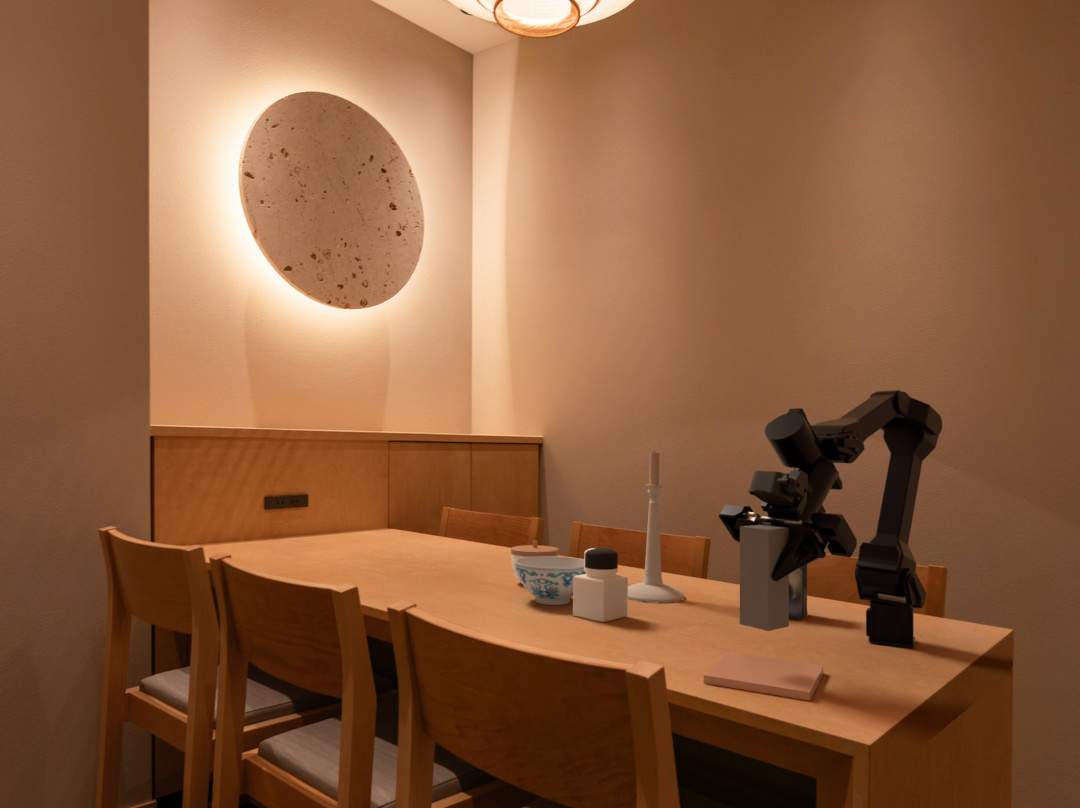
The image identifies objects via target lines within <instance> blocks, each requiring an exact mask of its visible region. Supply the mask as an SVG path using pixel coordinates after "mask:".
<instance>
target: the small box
mask: <svg viewBox="0 0 1080 808" xmlns="http://www.w3.org/2000/svg"><path fill="white" fill-rule="evenodd" d="M806 615H808V564H806V565H804V566H802V567H800V568H798V569H797V570H795V571H793V572H792V573H790V574H789V618H790V619H789V620H794V619H797V620H796V621H801V620H802V621H803V620H804V619H805V618H806V617H807V616H806Z"/></svg>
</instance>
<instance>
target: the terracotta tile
mask: <svg viewBox="0 0 1080 808" xmlns="http://www.w3.org/2000/svg"><path fill="white" fill-rule="evenodd" d="M823 675H824V665H820V664H812V663H806V662H799V661H791V660H786V659H779V658H773V657H766V656H765V657H764V656H758V655H750V654H743V653H737V652H731V651H727V652H726V653H725V654H724V655H723V656H721V658H720V659H719V660H718V661H717V662H716V663H715V664H714V665H712V666H711V667H710V668H709V669H708V670H707V671H706V672H705V673H704V674H703V684H708V685H713V686H719V687H725V688H731V689H738V690H742V691H750V692H755V693H760V694H767V695H772V696H779V697H785V698H791V699H797V700H802V701H807V702H808V701H811V699H812V697H813V695H814V693H815V691H816V689H817V687H818V686H819V683H820V682H821V679H822V677H823Z"/></svg>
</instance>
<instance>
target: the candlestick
mask: <svg viewBox="0 0 1080 808" xmlns="http://www.w3.org/2000/svg"><path fill="white" fill-rule="evenodd" d="M645 486H646V487H647V494H648V495H649V502H648V516H647V517H648V518H647V529H646V531H647V532H646V533H647V534H646V545H645V546H646V547H645V548H646V549H645V562H644V575H643V576H644V577H643V581H642V582H638V583H633V584H631V585H628V595H627V598H628V599H627V600H629V599H632V600H631V601H633V600H637V601H636V602H639V601H645V602H644V603H648V602H673V603H676V602H675V601H679V602H681V601H680V600H682V599H684V600H685V594H684V593H683V592H682V591H681V590H680V589H679V588H677V587H675V586H672V585H670V584H666V583H663V578H662V577H663V576H662V575H663V573H662V557H661V556H662V554H661V532H660V530H661V529H660V528H661V527H660V502H659V495H660V494H661V488H662V487H663V484H660V452H656V450H654V452H649V482H648V483H647V484H645ZM682 601H683V600H682Z"/></svg>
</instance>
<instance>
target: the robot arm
mask: <svg viewBox="0 0 1080 808" xmlns="http://www.w3.org/2000/svg"><path fill="white" fill-rule="evenodd" d="M942 420H943V419H942V417H941V414H939V413H938V412H937V411H936V410H935V409H934V408H933V407H932V406H931V405H930V404H928V403H926V402H923V401H920V400H919V399H917V398H914V397H911V396H910V395H909V393H907V392H906V391H903V390H900V389H898V390H896V389H895V390H877V391H875V392H873V393H871V395H870V396H869V397H868V399H866V400H865V401H863V402H862V403H860V404H859V405H857V406H855V407H854V408H853V409H851V410H849V411H848V412H847V413H845V414H843V415H842V416H841V417H839V418H836V419H832V420H825V421H821V422H818V423H814V424H811V423H810V422H809V420H808V417H807V414H806V412H805V410H804V409H803V408H801V407H799V408H789V409H788V411H787V413H784V414H781V415H779V416H777V417H776V418H774V419H773V420H772V421H770V422H768V423H767V424H766V426H765V428H764V435H765V437H766V439H767V440H768V442H769V444H770V446H771V447H772V449H773V451H774V453H775V454H776V456H777V457H778V459H779V461H780V462H781V463H782V465H783V466H784V467H786V468H791V469H793V470H791V471H789V473H788V472H780V471H774V470H773V471H772V470H755V471H754V473H753V475H752V479H751V482H750V486H749V491H748V493H749V495H751V496H754V497H756V498H758V500H760V501H761V503H760V507H761V509H762V511H763V512H765V513H767V515H766V516H762V515H760V514H758V512H754V510H753V509H752V507H751V506H749V505H740V504H724V506H723V508H722V510H721V511H720V513H719V515H718V518H719V519H720V521H721V522H722V524H723V525H724V526H725V529H726V530H727V532H728V533H729V534H730V536H731V537H732V539H733V541H735V542H737V543H740V526H752V525H766V526H775V527H784V528H789V538H788V542H787V544H786V546H785V548H784V550H783V552H782V554H781V555H780V557H779V559H778V561H777V563H776V565H775V567H774V570H773V572H772V575H771V577H772V578H773V580H774V581H778V580H780V579H782V578H783V577H785V576H787V575H788V574H790V573H792V572H793V571H795V570H797V569H798V568H800V567H802V566H804V565H806V564H807V565H808V564H809V563H812V562H814V561H816V560H817V559H825V557H827V553H826V551H825V549H826V548H827V550H828V551H829V553H830V554H831V556H837V557H842V558H843V557H844V558H851V557H852V556H853V554H854V553H855V550H856V548H857V544H858V542H857V538H856V536H855V534H854V532H853V530H852V529H851V527H850V525H849V524H848V522H847V520H846V518H845V517H844V515H843V514H842V513H841V514H840V513H829V512H827V510H826V509H825V507H824V504H825V503H824V502H825V500H826V499H827V497H828V495H829V493H830V491H831V490H837V491H842V489H844V488H843V481H842V480H841V477H840V473H839V471H838V469H837V467H836V465H835V464H847V465H848V464H853V463H855V461H856V460H857V459H858V458H859V457H860V456H861V454H862V453H863V452H864V451H865V449H866V448H865V444H864V442H865V441H866V440H867V439H869V437H871V436H872V435H874V434H875V433H876V432H877V431H879V430H881V431H882V432H883V441H884V442H885V444H886V447H887V448H888V451H889V454H890V455H889V461H888V465H887V466H888V467H887V473H886V478H885V483H884V488H883V493H882V499H881V504H880V509H879V510H880V511H879V515H878V520H877V527H876V532H875V535H874V537H873V538H872V539H871V540H870V541H869V542H866V541H863V542H861V545H860V546H859V549H858V550H859V551H858V557H857V561H856V563H855V570H854V578H855V582H856V587H857V593H858V597H859V600H862V601H869V607H867V608H866V610H865V636H866V637H868V642H869V643H872V644H873V643H874V644H880V645H881V644H882V645H889V646H896V647H905V648H912V649H913V648H915V644H916V643H915V642H916V641H915V639H916V638H915V633H914V632H915V630H914V627H915V625H914V624H915V623H914V622H915V621H914V616H915V615H914V609H923V608H924V606H925V604H926V601H927V599H926V598H927V597H926V596H927V592H926V590H925V588H924V587H925V586H923V584H922V582H921V580H920V578H919V577H918V575H917V573H916V571H917V570H916V569H917V562H916V560H915V557H914V555H913V552H912V550H911V548H910V547H909V542H910V541H909V540H910V537H911V536H910V535H911V529H912V528H911V527H912V523H913V518H914V512H915V508H916V507H915V506H916V502H917V501H916V499H917V494H918V488H919V484H920V477H921V473H922V466H923V461H924V460H925V459H926V458H927V457H928V456H929V455H930V454H931V453H932V452H933V451H934V450H935V449H936V447H937V444H938V440H939V437H940V434H941V433H942V430H943V421H942Z"/></svg>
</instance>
